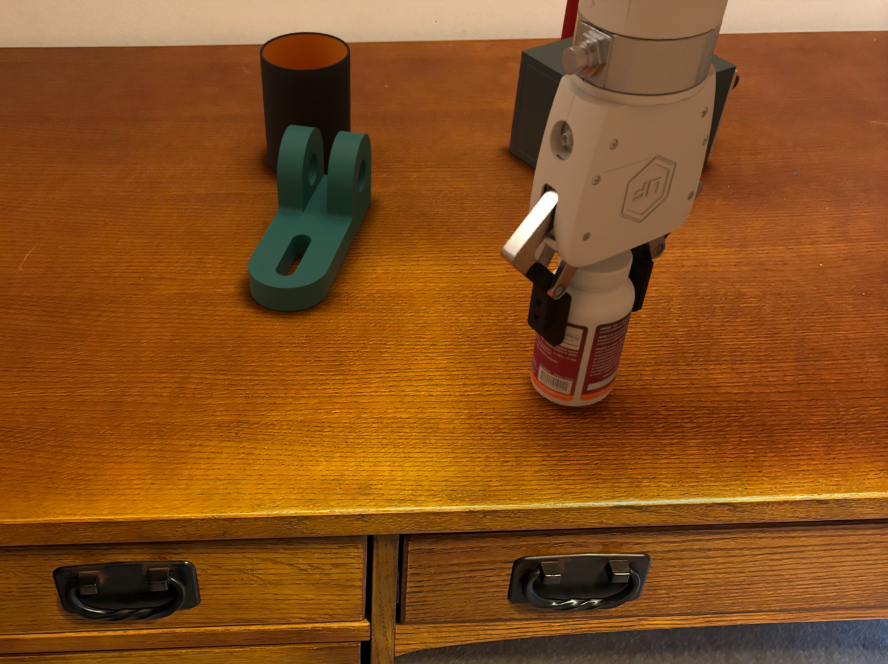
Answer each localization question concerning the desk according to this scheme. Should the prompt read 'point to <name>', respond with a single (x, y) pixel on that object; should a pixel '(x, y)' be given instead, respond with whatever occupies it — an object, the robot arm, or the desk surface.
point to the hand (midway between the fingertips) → (584, 315)
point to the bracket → (311, 218)
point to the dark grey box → (542, 84)
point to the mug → (305, 88)
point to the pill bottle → (588, 335)
